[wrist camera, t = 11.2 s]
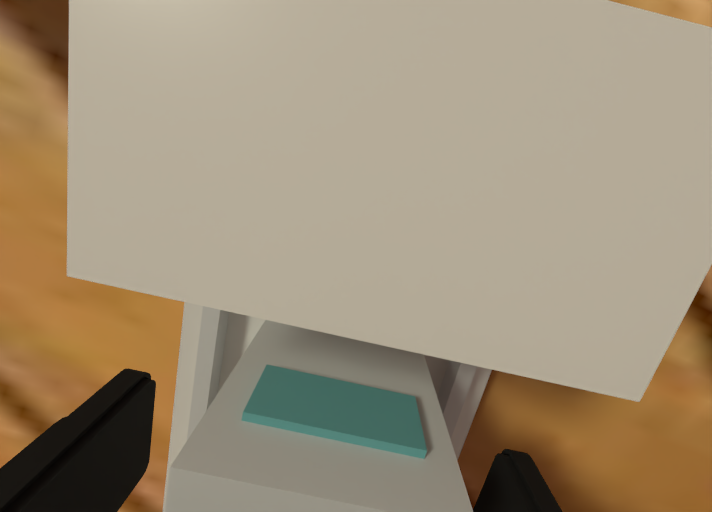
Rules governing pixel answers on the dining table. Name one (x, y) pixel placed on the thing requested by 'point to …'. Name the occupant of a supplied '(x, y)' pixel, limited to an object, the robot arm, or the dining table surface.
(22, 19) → the dining table surface
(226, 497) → the block
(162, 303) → the dining table surface
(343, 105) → the white channel bracket
